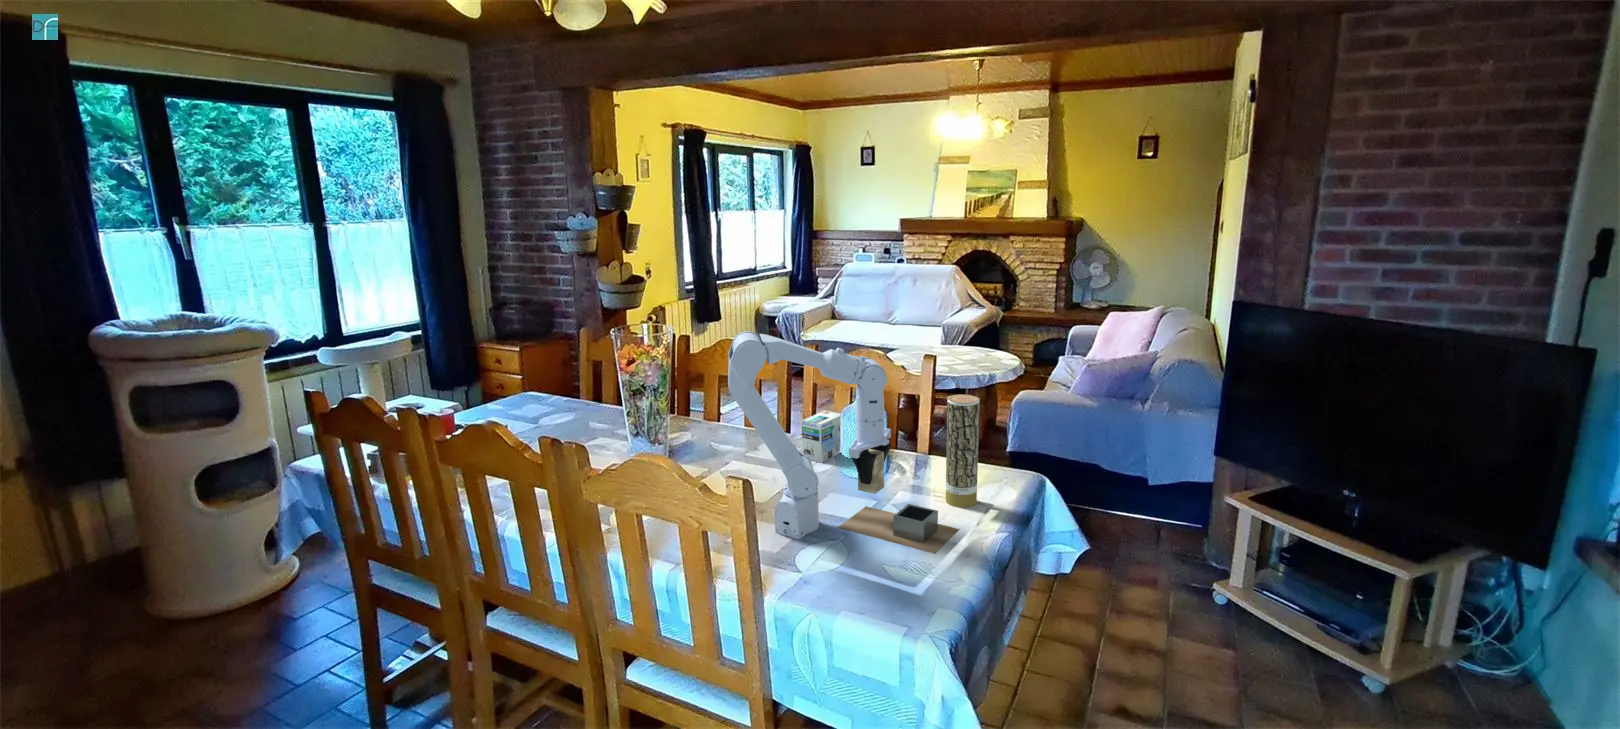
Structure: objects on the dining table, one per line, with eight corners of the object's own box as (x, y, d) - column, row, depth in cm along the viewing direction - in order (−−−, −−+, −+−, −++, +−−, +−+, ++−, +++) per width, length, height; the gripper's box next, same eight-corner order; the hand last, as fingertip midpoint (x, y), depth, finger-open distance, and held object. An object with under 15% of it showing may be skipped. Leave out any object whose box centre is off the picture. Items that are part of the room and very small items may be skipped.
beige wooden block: (874, 493, 154) (874, 457, 152) (858, 490, 156) (857, 454, 154) (884, 487, 157) (883, 451, 156) (867, 483, 160) (867, 448, 158)
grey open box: (923, 543, 147) (923, 523, 146) (893, 535, 151) (893, 515, 150) (937, 530, 153) (938, 510, 152) (908, 522, 156) (908, 503, 155)
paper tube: (976, 513, 162) (979, 403, 156) (945, 511, 164) (947, 402, 158) (976, 500, 169) (979, 394, 163) (945, 498, 170) (947, 394, 164)
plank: (935, 559, 143) (935, 553, 143) (837, 532, 155) (837, 527, 155) (959, 534, 153) (959, 529, 153) (866, 511, 165) (865, 506, 165)
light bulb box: (822, 463, 194) (821, 424, 191) (801, 458, 198) (800, 420, 195) (845, 451, 202) (844, 413, 199) (825, 446, 206) (824, 409, 203)
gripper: (870, 431, 145) (870, 495, 148) (903, 411, 157) (903, 471, 160) (839, 425, 149) (840, 488, 152) (874, 406, 161) (874, 465, 164)
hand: (870, 479), depth 156 cm, fingers closed on beige wooden block, 4 cm apart
